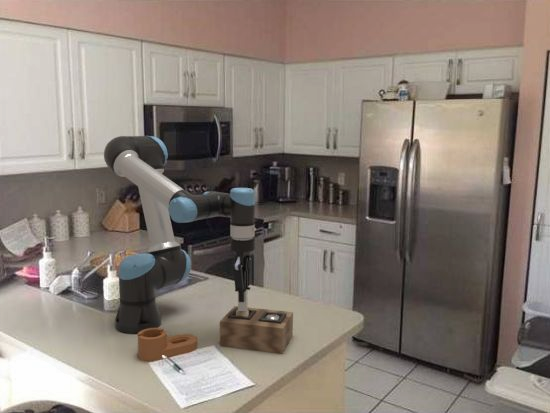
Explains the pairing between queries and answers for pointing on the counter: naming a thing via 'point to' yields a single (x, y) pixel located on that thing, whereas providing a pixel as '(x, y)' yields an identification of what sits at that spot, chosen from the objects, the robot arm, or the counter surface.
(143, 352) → the bracket
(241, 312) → the birch dowel
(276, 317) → the metal peg
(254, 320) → the walnut block
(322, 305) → the counter surface
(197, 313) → the counter surface
